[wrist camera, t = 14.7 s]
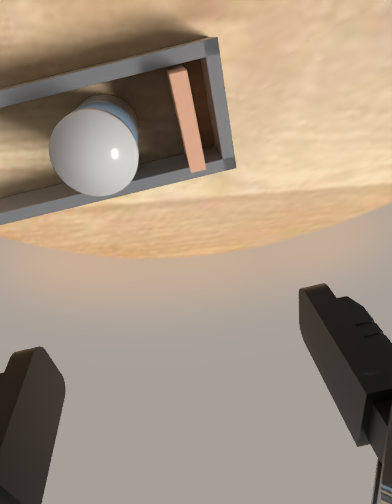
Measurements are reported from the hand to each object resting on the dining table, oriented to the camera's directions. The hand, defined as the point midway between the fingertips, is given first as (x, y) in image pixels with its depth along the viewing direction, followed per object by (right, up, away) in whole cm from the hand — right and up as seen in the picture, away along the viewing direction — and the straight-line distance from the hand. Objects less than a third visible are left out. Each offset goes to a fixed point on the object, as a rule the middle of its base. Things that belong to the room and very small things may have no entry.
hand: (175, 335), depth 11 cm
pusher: (-1, +15, +19) cm, 24 cm away
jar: (-7, +13, +19) cm, 24 cm away
